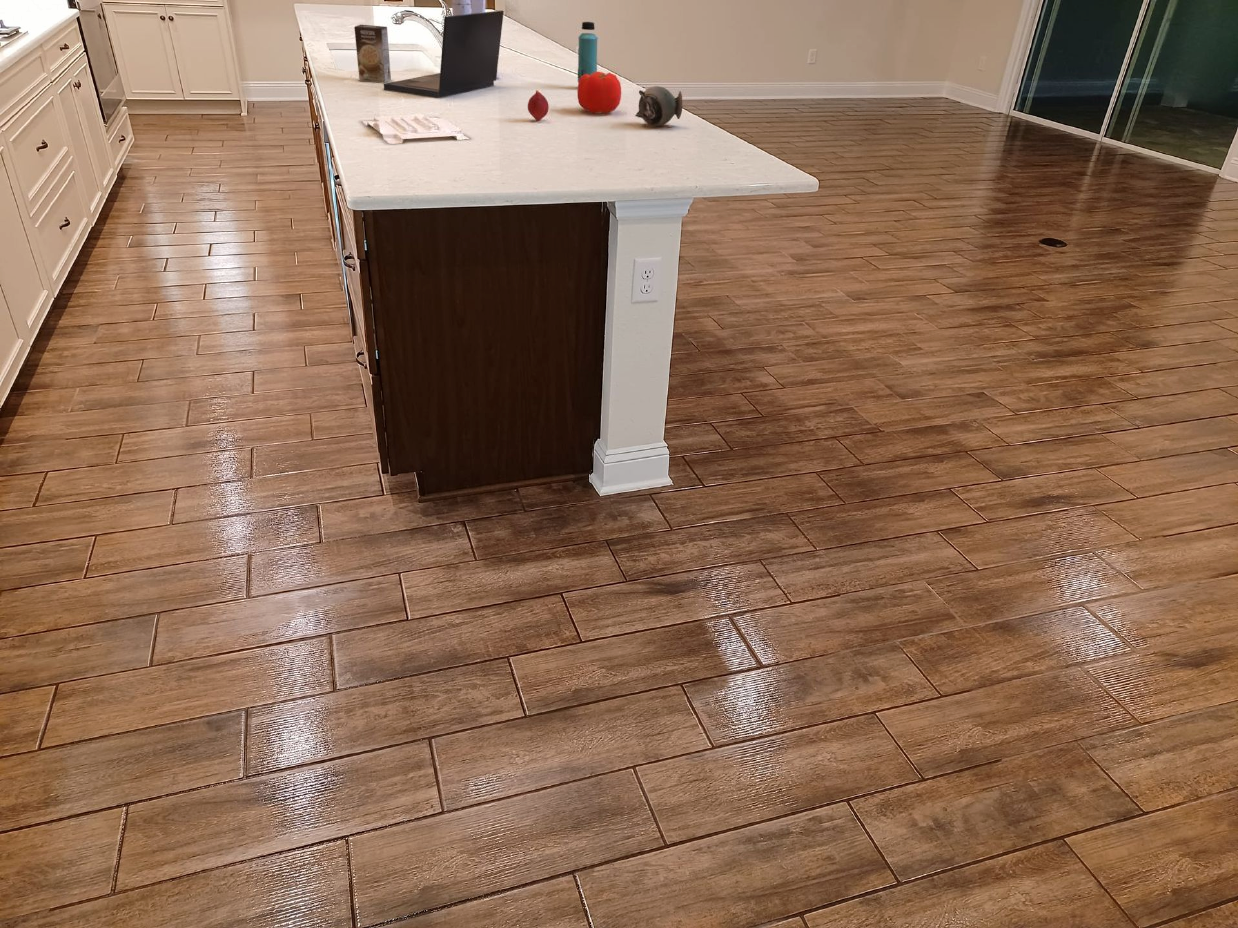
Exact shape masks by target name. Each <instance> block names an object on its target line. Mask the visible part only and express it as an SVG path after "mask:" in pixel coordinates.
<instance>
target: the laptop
mask: <svg viewBox="0 0 1238 928" xmlns="http://www.w3.org/2000/svg"><path fill="white" fill-rule="evenodd" d="M439 83H440V72H437V73H432V74H428V75H427V74H426V75H422V76H417V77H411V78H407V79H400V80H396V81H389V82H386V83H383V90H384V91H390V92H396V93H403V94H408V95H409V94H410V95H416V96H422V97H423V96H424V97H429V98H437V99H441V98H445V97H450V96H453V95H458V94H463V93H467V92H473V91H476V90H481V89H485V88H489V87H494V86H495V81H491V82H487V83H482V84H478V85H473V86H468V87H464V88H459V89H455V90H450V91H446V92H439Z"/></svg>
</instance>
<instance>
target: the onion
mask: <svg viewBox="0 0 1238 928" xmlns="http://www.w3.org/2000/svg"><path fill="white" fill-rule="evenodd" d="M549 109H550V107H549V101H548V100H547V98H546V97H545V95H543V94H542V93H541V92H540V91H539V89H535V93H534V94H532V95H531V97H529V100H528V102H527V111H528V113H529V114H530V116H532V118H534V120H535V121H537V122H539V121H541V120H543V118H545V117H546V116H547V115H548V113H549Z"/></svg>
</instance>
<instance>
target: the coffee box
mask: <svg viewBox="0 0 1238 928" xmlns="http://www.w3.org/2000/svg"><path fill="white" fill-rule="evenodd" d="M353 29H354V38H355V48H356V59H357V70H358V81H360V82H370V83H371V82H372V83H382V84H385V83H389V82H391V81H392V76H391V75H392V74H391V62H390V47H389V35H388V27H387V26H383V25H371V24H370V25H369V24H359V25H355V26H354V28H353Z"/></svg>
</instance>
